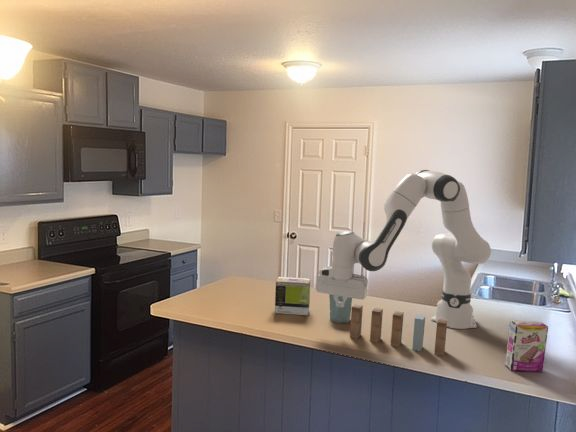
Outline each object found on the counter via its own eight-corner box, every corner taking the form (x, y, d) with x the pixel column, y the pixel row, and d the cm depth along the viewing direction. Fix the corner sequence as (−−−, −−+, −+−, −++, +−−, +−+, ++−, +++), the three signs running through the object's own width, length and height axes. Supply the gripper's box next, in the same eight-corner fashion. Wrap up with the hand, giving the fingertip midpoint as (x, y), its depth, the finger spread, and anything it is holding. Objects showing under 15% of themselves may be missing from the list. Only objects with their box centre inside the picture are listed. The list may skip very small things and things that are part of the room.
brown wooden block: (436, 349, 183) (438, 318, 181) (444, 351, 181) (447, 319, 180) (434, 354, 178) (437, 322, 177) (442, 355, 177) (445, 323, 175)
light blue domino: (414, 345, 186) (417, 314, 184) (422, 346, 184) (425, 316, 183) (412, 349, 181) (414, 318, 180) (420, 351, 180) (423, 319, 179)
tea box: (309, 309, 224) (311, 277, 223) (308, 316, 214) (309, 283, 213) (276, 307, 226) (278, 275, 224) (274, 313, 216) (275, 280, 214)
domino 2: (373, 337, 192) (375, 307, 191) (380, 338, 191) (382, 308, 190) (369, 341, 188) (371, 310, 186) (377, 342, 187) (379, 312, 185)
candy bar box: (511, 371, 166) (516, 324, 164) (504, 365, 171) (509, 320, 169) (543, 372, 166) (549, 326, 164) (535, 366, 171) (540, 321, 169)
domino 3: (393, 341, 189) (395, 310, 188) (401, 342, 188) (403, 312, 186) (390, 345, 184) (392, 314, 183) (398, 346, 183) (400, 315, 182)
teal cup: (350, 324, 206) (351, 296, 205) (326, 321, 208) (327, 294, 207) (351, 317, 216) (353, 290, 215) (329, 314, 218) (330, 288, 217)
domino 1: (353, 333, 196) (355, 304, 194) (360, 334, 194) (362, 305, 193) (349, 337, 191) (351, 307, 190) (357, 338, 190) (359, 308, 188)
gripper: (370, 274, 191) (367, 309, 193) (321, 267, 200) (318, 300, 201) (365, 277, 186) (363, 313, 187) (315, 270, 194) (313, 304, 195)
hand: (339, 306), depth 194 cm, fingers closed
